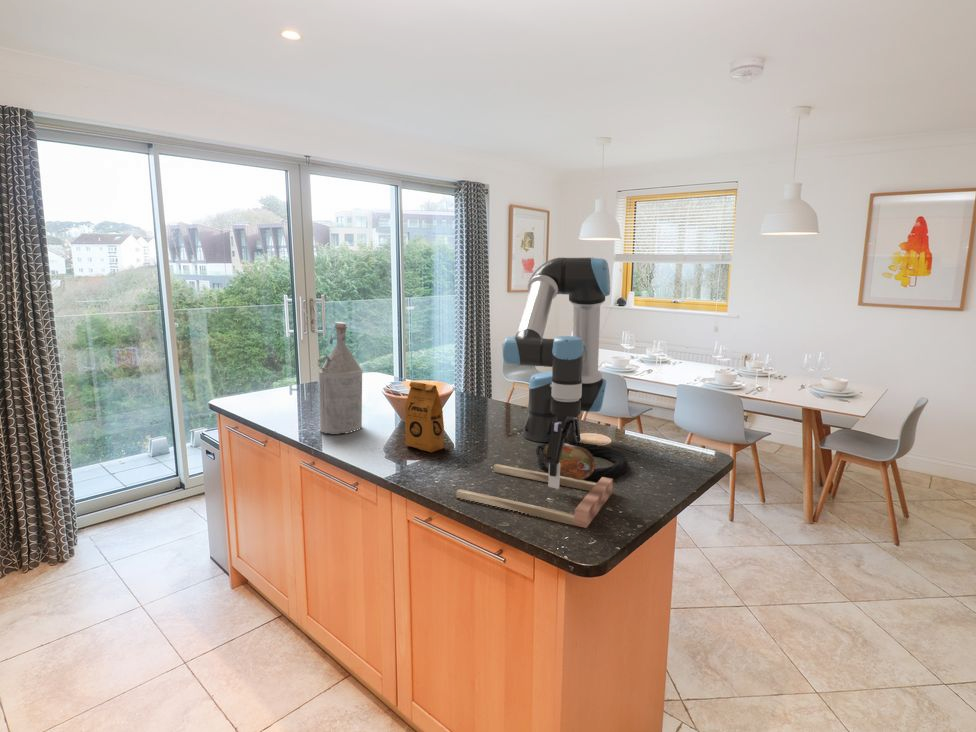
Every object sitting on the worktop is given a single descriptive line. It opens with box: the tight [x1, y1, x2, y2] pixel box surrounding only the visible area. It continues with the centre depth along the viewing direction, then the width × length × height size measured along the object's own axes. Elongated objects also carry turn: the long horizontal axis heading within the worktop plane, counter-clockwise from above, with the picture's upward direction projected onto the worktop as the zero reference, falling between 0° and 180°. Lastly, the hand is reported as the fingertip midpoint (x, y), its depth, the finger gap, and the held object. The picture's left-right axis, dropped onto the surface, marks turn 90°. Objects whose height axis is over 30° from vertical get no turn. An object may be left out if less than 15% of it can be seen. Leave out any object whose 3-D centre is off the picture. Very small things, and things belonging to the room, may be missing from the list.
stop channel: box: [456, 463, 614, 529], centre depth 147 cm, size 24×35×4 cm
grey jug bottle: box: [317, 321, 363, 435], centre depth 201 cm, size 13×17×40 cm
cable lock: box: [535, 442, 629, 482], centre depth 172 cm, size 28×4×30 cm
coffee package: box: [404, 380, 445, 453], centre depth 183 cm, size 10×12×22 cm
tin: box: [543, 442, 596, 480], centre depth 147 cm, size 15×3×8 cm, turn 49°
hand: (562, 478), depth 144 cm, fingers open, 13 cm apart
